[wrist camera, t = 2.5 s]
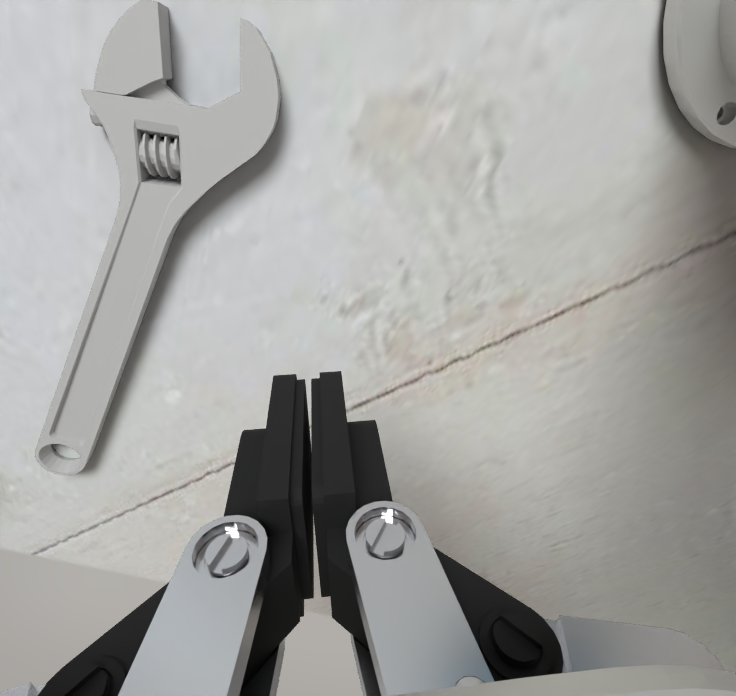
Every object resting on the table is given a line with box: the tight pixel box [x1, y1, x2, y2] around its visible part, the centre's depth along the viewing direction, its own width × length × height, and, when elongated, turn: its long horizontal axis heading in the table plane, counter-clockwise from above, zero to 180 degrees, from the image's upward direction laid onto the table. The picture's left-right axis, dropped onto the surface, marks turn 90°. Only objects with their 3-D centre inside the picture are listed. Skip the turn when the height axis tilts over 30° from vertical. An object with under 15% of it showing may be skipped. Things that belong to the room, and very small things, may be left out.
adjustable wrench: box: [35, 0, 281, 475], centre depth 21 cm, size 25×6×2 cm, turn 144°
